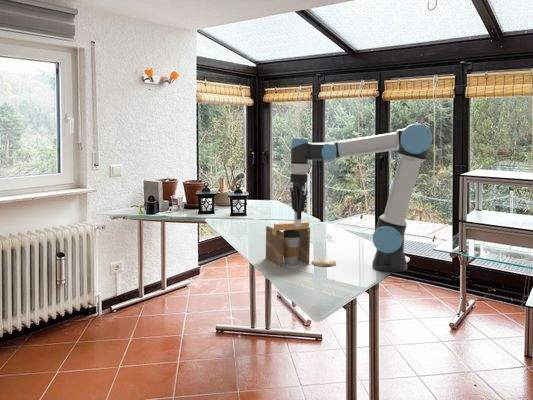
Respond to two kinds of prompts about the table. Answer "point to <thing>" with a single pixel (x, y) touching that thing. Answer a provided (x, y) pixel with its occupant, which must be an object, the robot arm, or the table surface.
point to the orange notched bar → (289, 226)
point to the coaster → (323, 262)
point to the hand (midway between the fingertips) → (297, 226)
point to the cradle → (277, 244)
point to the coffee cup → (291, 246)
